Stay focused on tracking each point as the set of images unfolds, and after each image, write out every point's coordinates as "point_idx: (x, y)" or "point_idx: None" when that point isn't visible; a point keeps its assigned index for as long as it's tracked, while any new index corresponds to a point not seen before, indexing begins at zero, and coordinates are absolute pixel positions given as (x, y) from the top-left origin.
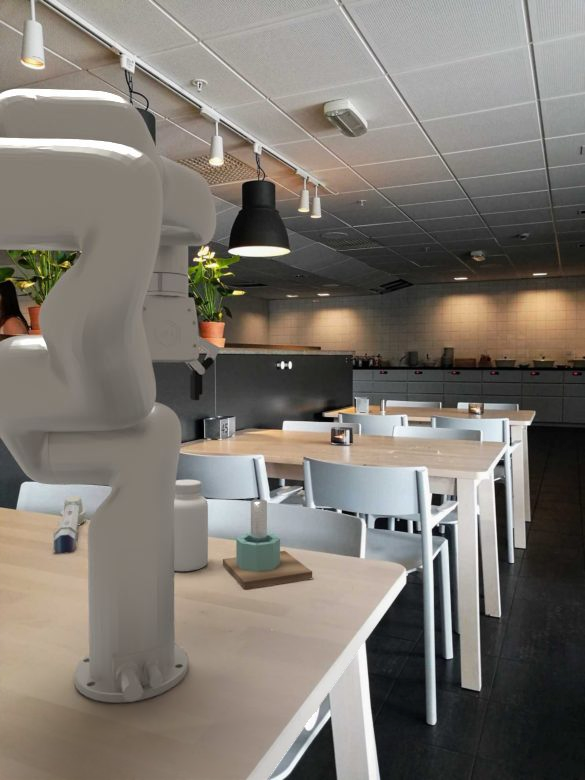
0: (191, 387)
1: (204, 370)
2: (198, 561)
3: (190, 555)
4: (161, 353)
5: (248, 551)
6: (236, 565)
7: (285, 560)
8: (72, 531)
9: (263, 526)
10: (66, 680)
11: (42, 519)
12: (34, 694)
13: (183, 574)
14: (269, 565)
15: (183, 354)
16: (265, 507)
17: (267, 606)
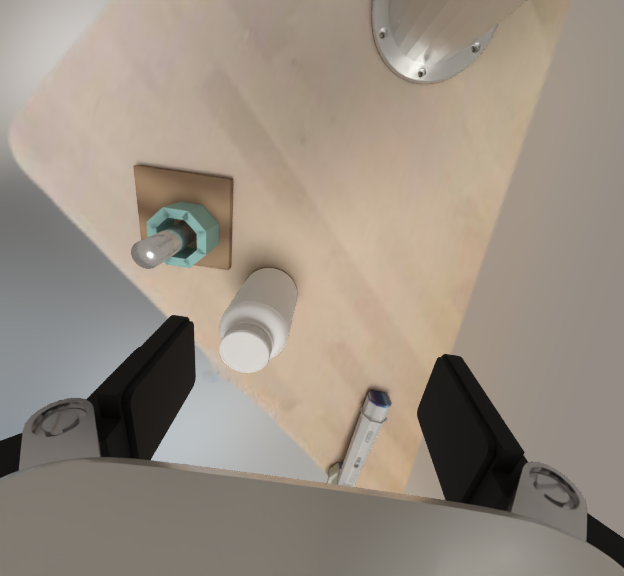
0: (172, 401)
1: (36, 417)
2: (260, 271)
3: (269, 274)
4: (382, 573)
5: (202, 219)
6: (220, 239)
7: None
8: (368, 415)
9: (161, 231)
10: (497, 39)
11: None
12: (535, 24)
13: (283, 264)
14: (183, 203)
15: (122, 526)
16: (141, 240)
17: (225, 110)
